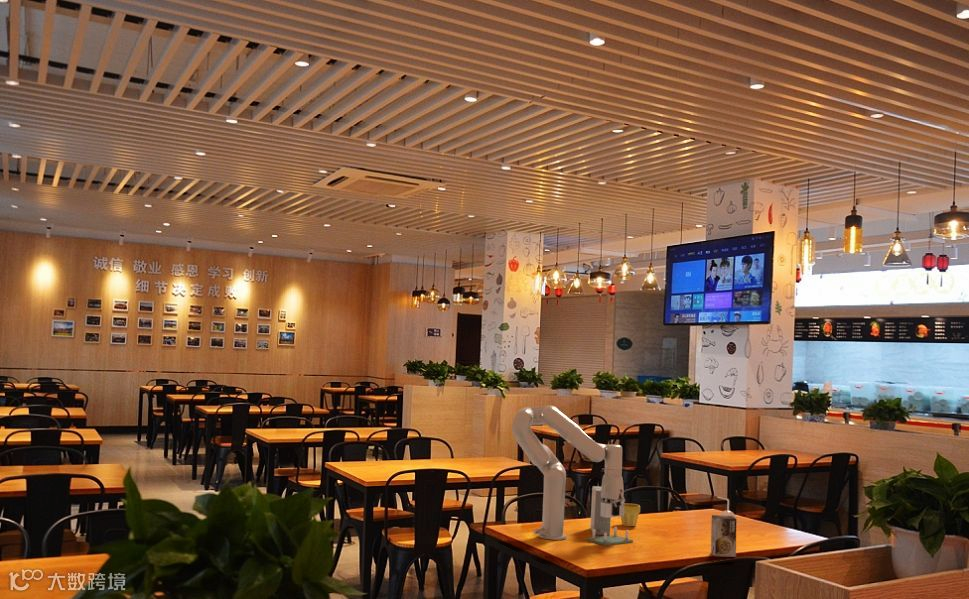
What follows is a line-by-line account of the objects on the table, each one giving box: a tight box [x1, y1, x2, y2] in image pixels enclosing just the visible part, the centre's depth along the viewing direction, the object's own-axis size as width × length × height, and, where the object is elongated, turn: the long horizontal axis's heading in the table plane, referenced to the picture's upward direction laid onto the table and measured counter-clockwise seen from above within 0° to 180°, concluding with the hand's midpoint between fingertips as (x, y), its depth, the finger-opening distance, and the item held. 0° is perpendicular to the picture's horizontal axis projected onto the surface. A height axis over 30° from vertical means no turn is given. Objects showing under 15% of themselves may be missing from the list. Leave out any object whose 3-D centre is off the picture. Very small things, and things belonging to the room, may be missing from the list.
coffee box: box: [710, 514, 738, 558], centre depth 362 cm, size 9×6×16 cm
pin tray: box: [587, 526, 634, 547], centre depth 377 cm, size 17×11×5 cm, turn 126°
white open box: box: [600, 500, 625, 518], centre depth 377 cm, size 10×4×6 cm, turn 120°
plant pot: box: [620, 502, 641, 527], centre depth 416 cm, size 10×10×10 cm
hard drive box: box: [590, 485, 612, 536], centre depth 397 cm, size 16×8×20 cm, turn 179°
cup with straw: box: [716, 495, 738, 520], centre depth 391 cm, size 8×9×20 cm
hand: (612, 514), depth 377 cm, fingers closed on white open box, 4 cm apart
